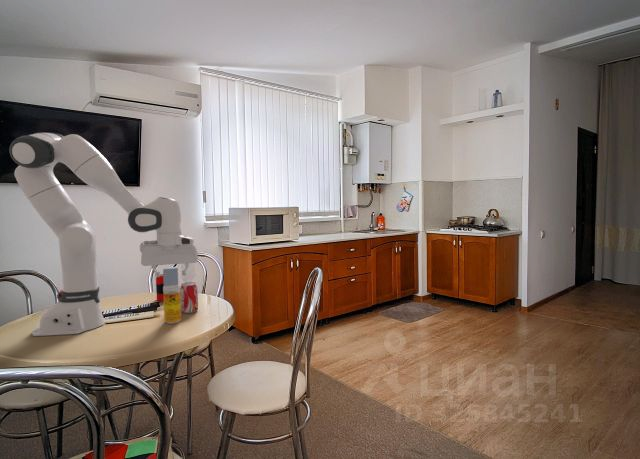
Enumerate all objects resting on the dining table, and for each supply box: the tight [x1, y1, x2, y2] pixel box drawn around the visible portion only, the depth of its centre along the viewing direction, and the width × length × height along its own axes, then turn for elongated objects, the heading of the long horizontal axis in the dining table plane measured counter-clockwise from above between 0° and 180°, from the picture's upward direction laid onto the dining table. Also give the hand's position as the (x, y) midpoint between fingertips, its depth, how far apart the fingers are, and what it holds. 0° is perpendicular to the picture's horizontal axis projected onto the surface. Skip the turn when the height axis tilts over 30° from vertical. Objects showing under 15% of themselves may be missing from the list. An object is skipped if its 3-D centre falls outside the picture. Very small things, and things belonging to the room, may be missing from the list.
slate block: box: [162, 266, 180, 286], centre depth 145 cm, size 5×5×6 cm
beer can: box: [163, 282, 182, 325], centre depth 146 cm, size 6×6×15 cm
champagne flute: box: [180, 263, 197, 283], centre depth 169 cm, size 7×7×24 cm
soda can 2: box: [180, 281, 199, 314], centre depth 159 cm, size 7×7×12 cm
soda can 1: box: [155, 273, 164, 303], centre depth 179 cm, size 8×8×12 cm
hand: (171, 275), depth 145 cm, fingers open, 8 cm apart
